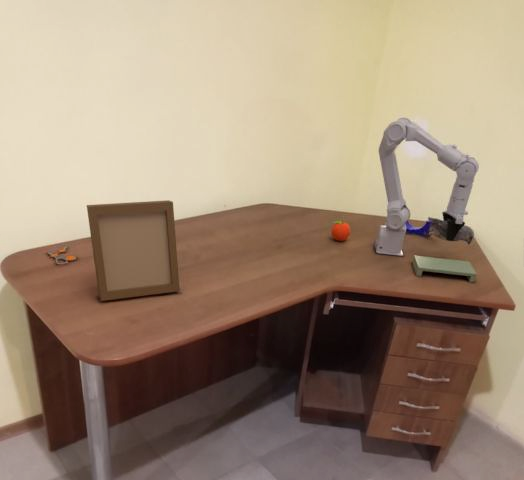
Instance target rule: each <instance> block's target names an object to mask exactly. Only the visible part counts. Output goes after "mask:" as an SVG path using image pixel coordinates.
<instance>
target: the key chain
mask: <svg viewBox="0 0 524 480" xmlns="http://www.w3.org/2000/svg"><path fill="white" fill-rule="evenodd" d="M67 249H68V245H65V246H63V247H62V248H61V249H58V252H57V253H52V252H50V251H48V252H46V254H48V256H50V258H54V259H55V263H56V265H66V264H68V263H69V262H71V261H72V262H73V261H75V260H76V259H77V257H76V256H75V255H68V256H62V255H61V254H60V253H65V252H67ZM58 260H64V261H65V262H58Z"/></svg>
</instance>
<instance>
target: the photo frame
mask: <svg viewBox="0 0 524 480" xmlns="http://www.w3.org/2000/svg"><path fill="white" fill-rule="evenodd" d="M86 210H87V219H88V224H89V232H90V239H91V247H92V254H93V255H92V256H93V261H94V269H95V276H96V283H97V291H98V297H99V299H100V301H101V302H102V301H103V302H104V301H111V300H112V301H113V300H119V299H127V298H135V297H142V296H152V295H159V294H165V293H166V294H167V293H174V292H180V290H181V288H180V275H179V263H178V250H177V238H176V237H177V236H176V225H175V212H174V202H173V201H172V200H166V199H165V200H152V201H134V202H119V203H118V202H117V203H116V202H114V203H99V204H86Z"/></svg>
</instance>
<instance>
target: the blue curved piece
mask: <svg viewBox="0 0 524 480" xmlns="http://www.w3.org/2000/svg"><path fill="white" fill-rule="evenodd" d="M430 223H431V222H430V221H429V219H427V220H426V221H425V224H424V225H423V226H420V227H416V226H413V225H412V224H411V223H410V222H409V220H408V221H407V222H406V227H407V229H406V233H405V234H410V235H411V234H414V235H419V236H421V237H425V238H427V237H426V233H425V231H426V232H429V231H431V229H432V228H431V224H430ZM425 229H426V230H425ZM427 235H430V232H429V233H427Z"/></svg>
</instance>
